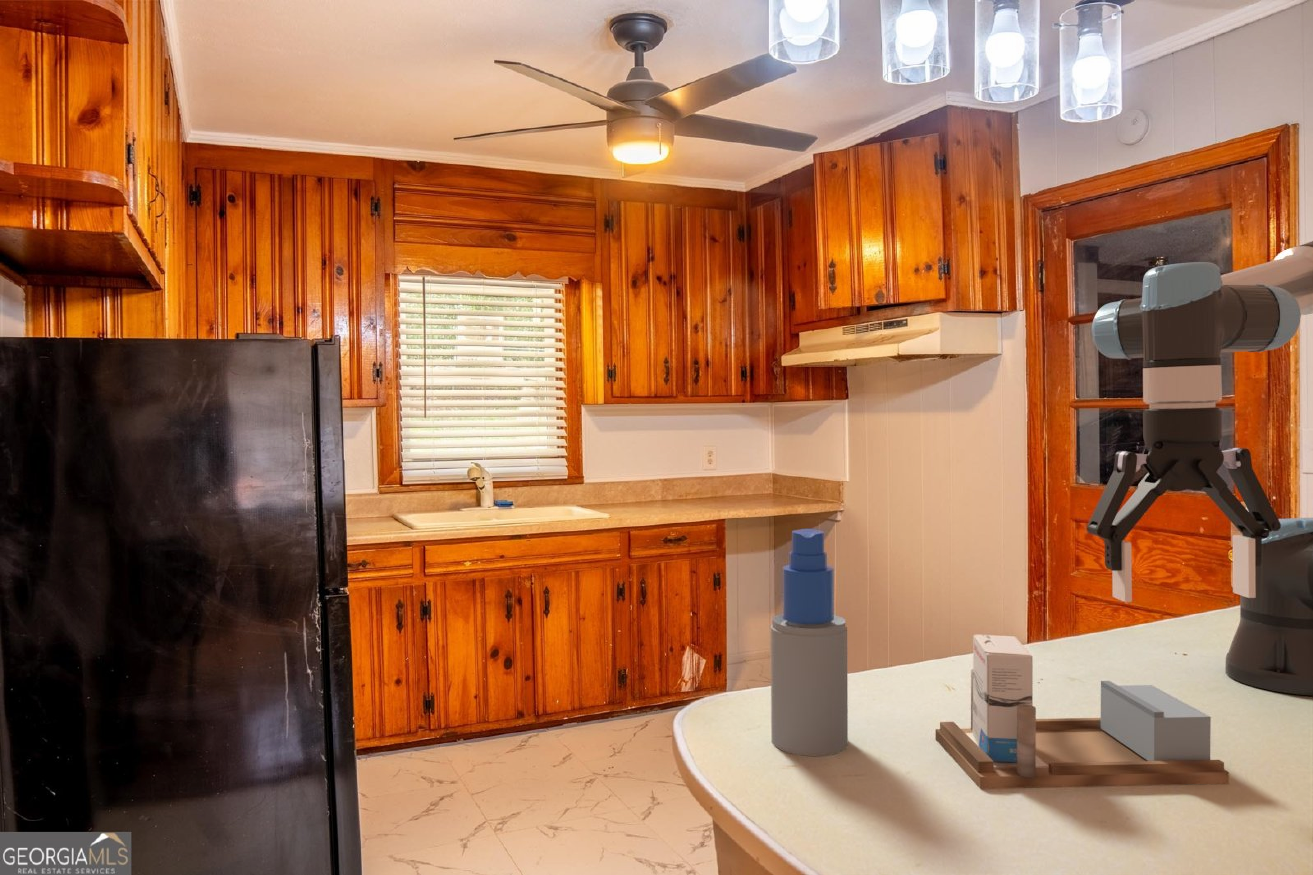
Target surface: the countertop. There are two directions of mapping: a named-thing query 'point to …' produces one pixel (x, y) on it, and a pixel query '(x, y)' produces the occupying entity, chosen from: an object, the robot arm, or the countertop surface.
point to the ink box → (999, 693)
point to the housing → (1154, 723)
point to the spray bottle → (809, 656)
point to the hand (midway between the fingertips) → (1183, 597)
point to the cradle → (1068, 757)
